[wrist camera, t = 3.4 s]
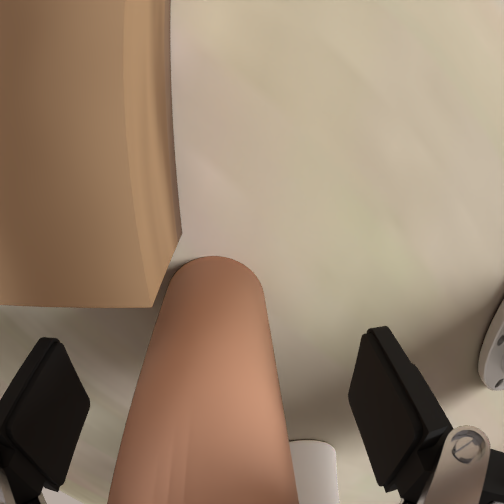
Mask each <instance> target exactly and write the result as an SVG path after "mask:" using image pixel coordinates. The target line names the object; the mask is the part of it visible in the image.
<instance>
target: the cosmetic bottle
mask: <svg viewBox="0 0 504 504" xmlns="http://www.w3.org/2000/svg"><path fill="white" fill-rule="evenodd" d="M289 445H290V451H291V457H292V463H293V469H294V475H295V481H296V487H297V493H298V500H299V504H340V501H339V492H338V481H337V466H336V451H335V449H334V448H333V447H332V446H331V445H330V444H328V443H325V442H322V441H316V440H298V441H291V442H289Z"/></svg>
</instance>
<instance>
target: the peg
mask: <svg viewBox="0 0 504 504" xmlns="http://www.w3.org/2000/svg"><path fill="white" fill-rule="evenodd" d="M107 504H299V500H298V493H297V487H296V481H295V475H294V469H293V463H292V457H291V451H290V445H289V439H288V433H287V427H286V421H285V415H284V409H283V403H282V398H281V392H280V386H279V380H278V374H277V368H276V362H275V356H274V350H273V345H272V339H271V333H270V327H269V321H268V315H267V310H266V304H265V298H264V292H263V288H262V286H261V283H260V281H259V280H258V278H257V277H256V275H255V274H254V273H253V272H252V271H251V270H250V269H249V268H248V267H246V266H245V265H243V264H241V263H240V262H238V261H235V260H233V259H230V258H226V257H219V256H209V257H202V258H198V259H195V260H192V261H190V262H188V263H187V264H185V265H184V266H182V267H181V268H180V269H179V270H178V271H177V272H176V273H175V274H174V276H173V277H172V279H171V281H170V283H169V286H168V289H167V292H166V295H165V297H164V300H163V303H162V306H161V309H160V312H159V315H158V318H157V321H156V324H155V327H154V330H153V333H152V337H151V340H150V343H149V346H148V349H147V352H146V356H145V359H144V362H143V365H142V369H141V372H140V376H139V379H138V382H137V386H136V389H135V393H134V396H133V400H132V403H131V407H130V411H129V414H128V418H127V422H126V426H125V429H124V433H123V437H122V441H121V445H120V449H119V453H118V457H117V462H116V466H115V470H114V475H113V479H112V483H111V488H110V493H109V498H108V502H107Z"/></svg>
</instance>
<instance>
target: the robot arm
mask: <svg viewBox="0 0 504 504" xmlns="http://www.w3.org/2000/svg"><path fill="white" fill-rule="evenodd" d="M478 373H479V375H480V378H481V380H482V381H483V382H484V384H485V385H486V386H487V387H488V388H489V389H490V390H504V300H503V301H502V303H501V305H500V307H499V308H498V310H497V312H496V314H495V316H494V318H493V320H492V322H491V324H490V327H489V329H488V331H487V334H486V336H485V339H484V342H483V345H482V348H481V351H480V357H479V362H478ZM348 398H349V403H350V406H351V409H352V412H353V414H354V417H355V420H356V423H357V425H358V428H359V431H360V434H361V437H362V440H363V442H364V445H365V448H366V451H367V454H368V457H369V460H370V463H371V466H372V469H373V472H374V475H375V478H376V481H377V483H378V485H379V486H384V489H385V492H386V493H387V492H390V491H393V490H396V489H398V492H399V494H400V497H401V500H400V503H399V504H504V453H503V452H500V451H496V450H493V449H490V442H489V439H488V437H487V436H486V434H485V433H484V432H483V431H481V430H480V429H479V428H476V427H474V426H468V425H465V426H459V427H457V428H455V429H453V427H452V425H451V424H450V422H449V420H448V418H447V417H446V415H445V413H444V411H443V410H442V408H441V406H440V405H439V403H438V401H437V399H436V398H435V396H434V394H433V393H432V391H431V389H430V388H429V386H428V384H427V383H426V381H425V380H424V378H423V376H422V375H421V373H420V372H419V370H418V368H417V367H416V366H415V365H414V364H412V363H411V362H410V360H409V359H408V357H407V355H406V354H405V352H404V351H403V349H402V348H401V346H400V344H399V343H398V341H397V340H396V338H395V337H394V335H393V334H392V332H391V331H390V329H389V328H388V327H387V326H383V327H376V328H370V329H368V331H367V334H363V335H362V338H361V342H360V347H359V352H358V356H357V360H356V365H355V369H354V373H353V377H352V381H351V385H350V389H349V393H348ZM89 408H90V399H89V397H88V395H87V393H86V391H85V389H84V387H83V386H82V384H81V382H80V380H79V377H78V375H77V373H76V371H75V369H74V367H73V365H72V363H71V361H70V358H69V356H68V354H67V352H66V349H65V347H64V345H63V344H62V343H60V341H59V340H58V339H56V338H46V337H42V338H40V339H39V340H38V342H37V343H36V345H35V346H34V348H33V349H32V351H31V352H30V354H29V355H28V357H27V358H26V360H25V361H24V363H23V364H22V366H21V367H20V369H19V371H18V372H17V374H16V375H15V377H14V378H13V380H12V382H11V383H10V385H9V387H8V388H7V390H6V392H5V393H4V395H3V397H2V398H1V400H0V504H47V503H46V501H45V499H44V497H43V494H42V492H41V491H42V488H43V487H45V488H47V489H50V490H53V491H56V492H58V491H59V487H60V486H61V485H63V484H64V482H65V478H66V475H67V472H68V469H69V466H70V463H71V459H72V456H73V453H74V450H75V447H76V444H77V442H78V439H79V436H80V433H81V430H82V427H83V425H84V422H85V419H86V416H87V414H88V411H89Z"/></svg>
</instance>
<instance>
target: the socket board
mask: <svg viewBox="0 0 504 504" xmlns="http://www.w3.org/2000/svg"><path fill="white" fill-rule="evenodd" d="M170 3H171V0H0V305H14V306H38V307H77V308H151V307H152V306H153V303H154V301H155V298H156V295H157V293H158V290H159V288H160V285H161V283H162V280H163V278H164V275H165V273H166V270H167V268H168V265H169V263H170V261H171V258H172V256H173V253H174V251H175V249H176V246H177V244H178V242H179V239H180V237H181V235H182V228H181V218H180V209H179V198H178V188H177V176H176V164H175V150H174V135H173V117H172V95H171V62H170Z"/></svg>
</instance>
